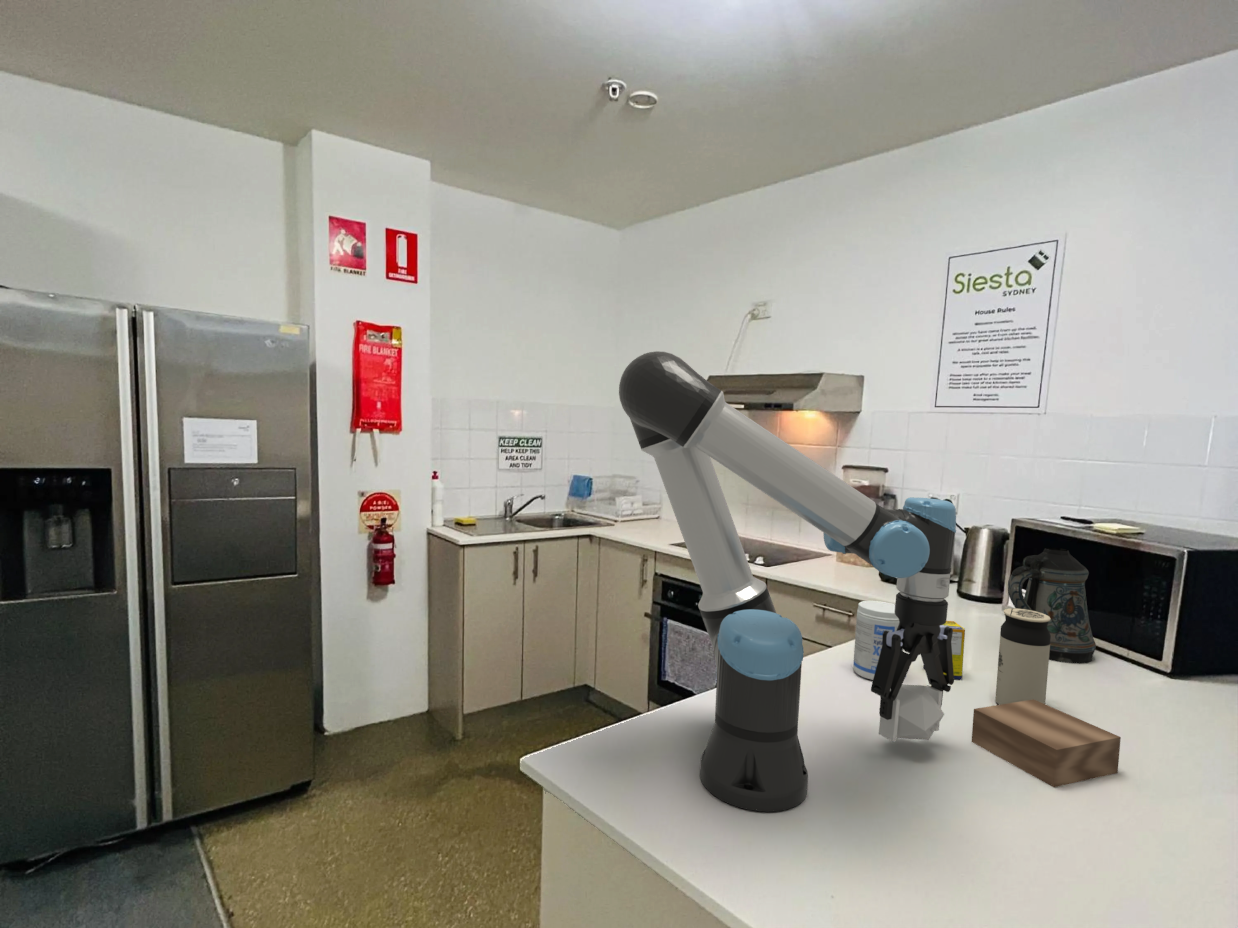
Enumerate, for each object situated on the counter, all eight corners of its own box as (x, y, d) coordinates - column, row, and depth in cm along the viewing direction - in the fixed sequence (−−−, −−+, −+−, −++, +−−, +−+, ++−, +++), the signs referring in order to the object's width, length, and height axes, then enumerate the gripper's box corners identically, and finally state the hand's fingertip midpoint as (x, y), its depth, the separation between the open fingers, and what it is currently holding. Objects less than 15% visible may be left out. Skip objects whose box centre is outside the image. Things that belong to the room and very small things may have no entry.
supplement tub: (876, 686, 129) (881, 614, 128) (842, 668, 137) (847, 601, 136) (912, 680, 132) (916, 610, 131) (877, 663, 141) (881, 598, 140)
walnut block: (1053, 789, 93) (1056, 749, 93) (971, 743, 107) (973, 708, 106) (1117, 774, 98) (1120, 736, 98) (1031, 732, 111) (1033, 699, 111)
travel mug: (1048, 707, 121) (1055, 614, 120) (1039, 720, 116) (1047, 622, 115) (1000, 694, 127) (1007, 605, 126) (990, 705, 121) (997, 612, 120)
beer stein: (1106, 656, 152) (1115, 552, 150) (1071, 671, 141) (1081, 559, 140) (1030, 636, 166) (1037, 540, 164) (993, 648, 155) (1001, 546, 153)
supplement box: (950, 669, 139) (954, 620, 139) (962, 680, 134) (966, 628, 133) (922, 667, 140) (925, 618, 139) (932, 678, 134) (936, 626, 133)
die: (934, 758, 97) (961, 702, 99) (884, 723, 98) (912, 669, 101) (909, 751, 105) (935, 700, 107) (863, 719, 106) (890, 669, 108)
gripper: (893, 607, 93) (880, 755, 94) (987, 596, 103) (974, 731, 105) (853, 593, 100) (841, 732, 101) (945, 585, 110) (933, 711, 111)
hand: (909, 731), depth 103 cm, fingers closed on die, 9 cm apart
